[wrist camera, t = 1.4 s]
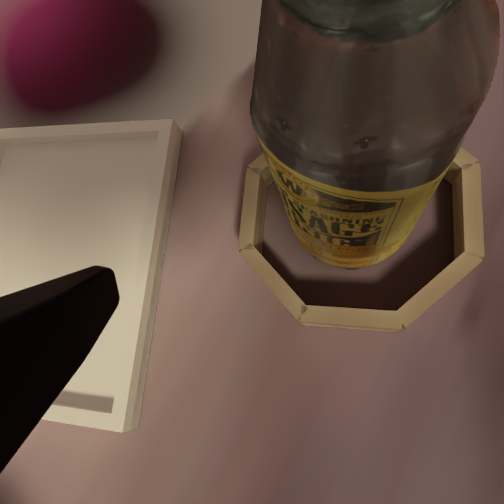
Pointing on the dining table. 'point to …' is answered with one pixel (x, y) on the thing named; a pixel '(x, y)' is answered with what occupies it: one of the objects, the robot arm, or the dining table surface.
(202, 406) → the dining table surface
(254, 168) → the bottle collar
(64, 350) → the robot arm
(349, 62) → the sauce bottle
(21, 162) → the tray
